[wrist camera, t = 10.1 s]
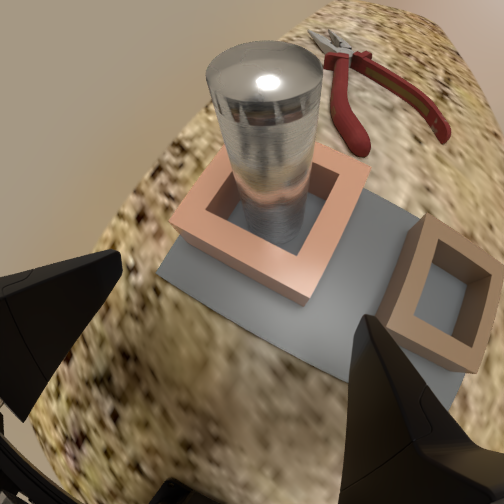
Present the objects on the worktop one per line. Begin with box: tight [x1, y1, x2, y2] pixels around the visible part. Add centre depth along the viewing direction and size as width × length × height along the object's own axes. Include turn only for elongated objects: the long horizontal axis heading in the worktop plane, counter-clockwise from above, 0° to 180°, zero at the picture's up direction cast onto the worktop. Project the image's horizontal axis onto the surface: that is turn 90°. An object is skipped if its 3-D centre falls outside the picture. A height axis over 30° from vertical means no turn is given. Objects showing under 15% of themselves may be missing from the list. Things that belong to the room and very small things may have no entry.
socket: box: [168, 142, 372, 307], centre depth 16 cm, size 8×8×4 cm
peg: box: [206, 41, 323, 245], centre depth 13 cm, size 4×4×12 cm
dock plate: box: [156, 188, 504, 411], centre depth 16 cm, size 12×22×4 cm, turn 60°
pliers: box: [308, 30, 451, 157], centre depth 23 cm, size 12×20×3 cm, turn 15°
